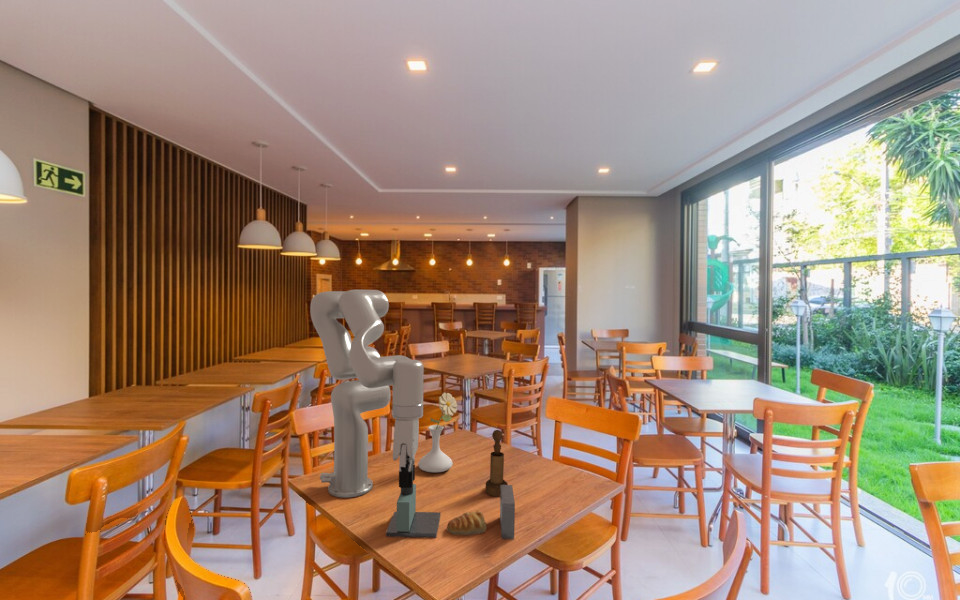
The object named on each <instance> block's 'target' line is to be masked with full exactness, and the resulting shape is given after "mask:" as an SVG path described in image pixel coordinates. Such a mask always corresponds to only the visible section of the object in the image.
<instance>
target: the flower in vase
mask: <svg viewBox="0 0 960 600" xmlns="http://www.w3.org/2000/svg"><path fill="white" fill-rule="evenodd" d="M457 403H458V402H457V400H456V398H455V397H453V395H452V394H451V393H449V392H447V393H446V392H443V393H442V394H441V396H439V399H438V404H439V409H440V411H441V416H440V418H439V420H438V419H437V420H436V419H433V417H432V418H431V417H430V422H432V423H436V424H433V425H430V426H428V428H427V429H429V432H430V434H431V437H432V438H431V443H432V445H431V446H432V447H431V450H430V451H428V452H427V453H426V454H425V455H424V456H422V457H421V458H420V459H419V461H418V463H417V466H418V468H419V469H420V470H422V471H424V472H427V473H433V474H434V473H442V472H445V471H448V470H450V469H451V467H452V466H453V465H454V463H453V460H452V459H451V457H449V456H448V455H447V454H446V453H445V452H443V451H442V450H441V448H440V437H441V433H442V431H443V429H444V426H443V425H439V424H440V422H441V420H443V421H444V422H445V423H448V422H450V421H451V420H453V416H454V414H456V413H457V411H458V404H457Z"/></svg>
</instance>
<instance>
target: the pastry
mask: <svg viewBox="0 0 960 600" xmlns="http://www.w3.org/2000/svg"><path fill="white" fill-rule="evenodd" d="M446 530H447V531H448V532H449V533H450V534H452V535H455V536H473V535H479V534H483V533H486V531H487V524H486V521H485V516H484V514H483V512H482V511H480V510H477V511H476V512H474V511H473V512H471V511H470V512H463V513H462V514H461V515H458V516H456V517H454V518H452V519H451V520H449V521H448V523H447V525H446Z"/></svg>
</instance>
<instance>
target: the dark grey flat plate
mask: <svg viewBox="0 0 960 600" xmlns="http://www.w3.org/2000/svg"><path fill="white" fill-rule="evenodd" d="M440 521H441V512H440V511H439V512H436V511H433V512H431V511H415V514H414V517H413V521H412V524H411V527H410V530H409V532H400V531H396V525H397V511H394V512H393V515H392V517H391V519H390V522H389V524H388V527H387V529H386V531H385V536H386V538H389V537H390V538H431V539H432V538H434V539H435V538H437V536H438V531H439V527H440Z"/></svg>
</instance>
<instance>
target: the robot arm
mask: <svg viewBox="0 0 960 600" xmlns="http://www.w3.org/2000/svg"><path fill="white" fill-rule="evenodd" d="M389 307H390V304H389V299H388V298H387V295H386V294H385V293H384V292H383V291H381V290H378V289H350V290H347V291H341V290H339V291H337V290H335V291H334V290H333V291H330V290H329V291H321V292H319V293H317V294H315V295H313V297H312V299H311V302H310V311H309V312H310V319H311V321H312V324H313V327H314V329H315V330H316V332H317V334H318V336H319V338H320V341H321V343H322V347H323V352H324V356H325V358H326V359H325V360H326V363H327V367H328V370H329V374H330V375H331V377H332V378H333V379H334V380H348V381H345V382H342V383H339V384H337V385H336V386H335V387H334V388H333V389H332V391H331V394H330V402H331V408H332V413H333V414H332V415H333V422H334V423H333V427H334V428H333V430H334V431H333V433H334V435H333V438H334V439H333V440H334V441H333V442H334V443H333V445H334V447H333V461H334V462H333V471H332V472H331V473H330V472H329V473H328V472H321V473H320V475H319V480H320V482H321V483H323V484H326V483H328V486H327V487H328V488H327V492H328V494H330V496H332V497H337V498H345V499H346V498H355V497H359V496H362V495H364V494H367V493H369V492H370V491H371V490H372V489H373V486H374V484H373V480H372V479H371V478H369V477H368V472H369V471H368V466H369V465H368V463H369V462H368V460H369V456H368V455H369V450H368V449H369V427H368V424H367V422H366V420H364V419H363V417H362V416H361V414H363V413H366V412H371V411H376V410H380V409H383V408H386V407H387V406H388V405H389V403H390V401H391V397H392V414H391V415H392V418H393V419H395V420H394V421H395V422H394V431H393V444H392V445H393V446H392V460H393V461H397V460H398V459H399V467H398V469H399V471H398V488H400V489H401V488H411V487H412V471H411V460H412V459H413V482H414V481H415V477H416V465H415V462H416V461H415V460H416V459H415V456H416V453H417V451H418V447H419V435H420V434H419V432H420V431H419V428H420V427H419V426H420V425H419V424H420V423H419V421H420V420H419V419H421V418H423V416H424V369H425V368H424V363H423V362H422V361H420V360H417V359H411V358H409V357H407V356H405V355H402V354H401V355H400V354H397V355H389V356H387V355H386V356H381V355H380V353H379V351H378V350H377V349H376V348H374V347H372V346H369V345H371V344H373V343H374V342H376V341H377V340H378V339H379V338H380V337H382V336H383V333H384V331H385V324H384V323H383V321H382V319H381V318H383V317H385V316H386V315H387V313H388V311H389ZM337 319H345V322H346V323H347V326H348V327H349V329H350V331H351V333H352V335H353V337H354V338H353V339H352V337H351V334H350V332H349V331H348V329H347V328H346V327H345V326H344V325H343V324H342V323H341V322H339V321H338V320H337ZM350 379H356V380H350ZM390 386H392V395H391V387H390ZM406 457H409V458H406ZM406 462H409V465H408V463H406Z"/></svg>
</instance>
